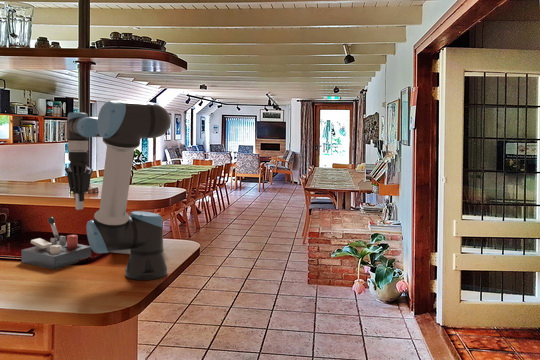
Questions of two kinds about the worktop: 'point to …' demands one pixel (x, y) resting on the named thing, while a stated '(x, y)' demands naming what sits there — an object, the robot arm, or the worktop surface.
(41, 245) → the rocker
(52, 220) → the lever
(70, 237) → the button red
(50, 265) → the console
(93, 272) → the worktop surface
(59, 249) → the button ivory
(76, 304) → the worktop surface
